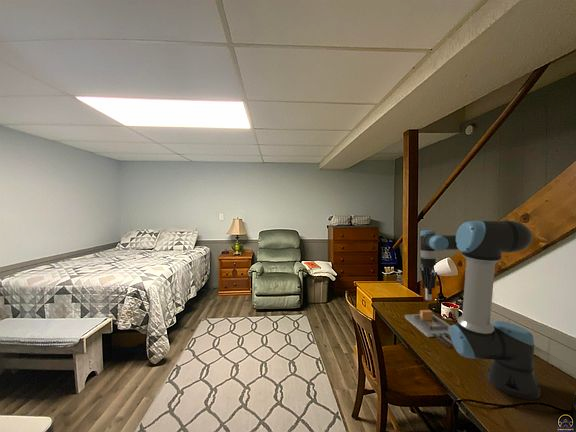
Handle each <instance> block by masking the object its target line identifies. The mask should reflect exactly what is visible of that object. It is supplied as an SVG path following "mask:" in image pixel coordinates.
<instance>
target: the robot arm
mask: <svg viewBox="0 0 576 432" xmlns="http://www.w3.org/2000/svg"><path fill="white" fill-rule="evenodd" d="M419 234H420V235H419V238H420V239H419V240H420V241H419V243H420V245H419V246H420V264H421V267H419V270H420V273H421V274H420V275H421V281H422V282H421V283H422V286H424V288H425V289H424V290H425V300H426V301H432V300H433V289H435V287H436V281H437V275H438V272H437V271H435V266H436V265H437V259H436V258H437V257H436V255H437V252H436V251H439V252H440V251H449V250H450V251H451V250H452V251H453V250H456V251H457V250H458V251H460V252H461V255H462V256H463V257H464V259H465V272H464V275H465V276H464V286H463V299H462V300H463V302H462V314H461V315H460V316H458V318H457V321H456V324H452V325H450V326H451V327H450V336H451V339H450V340H451V341H452V343H453V345H454V346H453V345H452V346H453V347H454V349H455V351H456V353H458V355H460V356H461V357H463V358H467V359H473V360H475V359H479V360H492V361H491V363H490V366H489V368H488V370H487V380H488V382H489V383H490V385H492V386H493V387H495V388H496V389H498V390H500V391H501V392H503V393H505V394H507V395H509V396H512V397H515V398H517V399H518V398H519V399H523V400H527V401H528V400H529V401H530V400H532V401H533V400H537V399H539V398H540V397H541V387H540V385H539V383H538V380H537V378H536V375H535V372H534V371H535V370H534V369H535V368H534V367H535V366H534V365H535V364H534V363H535V361H534V353H535V352H534V351H535V342H534V341H535V340H534V335H533V334H532V333H531V332H530V331H529V330H528V329H526V328H524V327H521V326H519V325H517V324H515V323H510V322H508V321H504V320H503V321H501V320H494V321H493V323H491V316H492V315H491V312H492V302H493V291H494V290H493V289H494V281H495V271H496V264H497V263H498V262H500V261H502V254H503V253H516V252H517V253H518V252H522V251H524V250H526V249H527V248H528V247H530V246H531V244H532V242H533V233H532V231H531V229H530V228H529V227H528V226H527V225H525V224H523V223H521V222H519V221H516V220H508V219H507V220H473V221H472V220H471V221H465V222H464V223H462V224H460V226H459V227H458V229H457V231H456V234H452V235H451V234H450V235H449V234H448V235H446V234H443V235H441V234H436V231H435V230H430V229H427V230H424V229H423V230H421V231H420V233H419Z"/></svg>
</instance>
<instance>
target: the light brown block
mask: <svg viewBox="0 0 576 432" xmlns="http://www.w3.org/2000/svg"><path fill="white" fill-rule="evenodd" d="M419 314H420V318H421V319H422V320H423V321H424V320H433V314H434V313H433V311H432V310H431V309H419Z"/></svg>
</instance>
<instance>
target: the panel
mask: <svg viewBox="0 0 576 432" xmlns="http://www.w3.org/2000/svg"><path fill="white" fill-rule="evenodd" d="M404 318H405V319H406V321H408V322H409V323H410V324H412V326H414V327H415V328H416V329H417V330H418V331H420V332H421V333H422V334H423V335H425V336H426V338H436V337H435V335H437V336H439V337H440V338H443V337H442V336H441V335H444V336H445V337H447V335H450V327H451V326H452V325H450V324H449V323H447V322H445V321H444V320H443V319H441V318H440V317H438V316H436V315H435V314H434V313H433V320H424V321H423V320H422V319H421V318H420V313H414V314H404Z"/></svg>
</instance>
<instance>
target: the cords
mask: <svg viewBox="0 0 576 432" xmlns="http://www.w3.org/2000/svg"><path fill="white" fill-rule="evenodd" d="M441 336H442V337H439V336H437V335H435V337H434V338H436V339H437V340H439V341H440V342H441V343H442V344H444V345H445V346H446V348H449V349H450V348H451V345H452V346H453V347H454V345H453V343H452V340H451V336H450V335H447V336H446V337H445V336H444V335H441ZM445 340H446V341H447V342H448V343H447V342H446V341H445Z"/></svg>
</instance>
